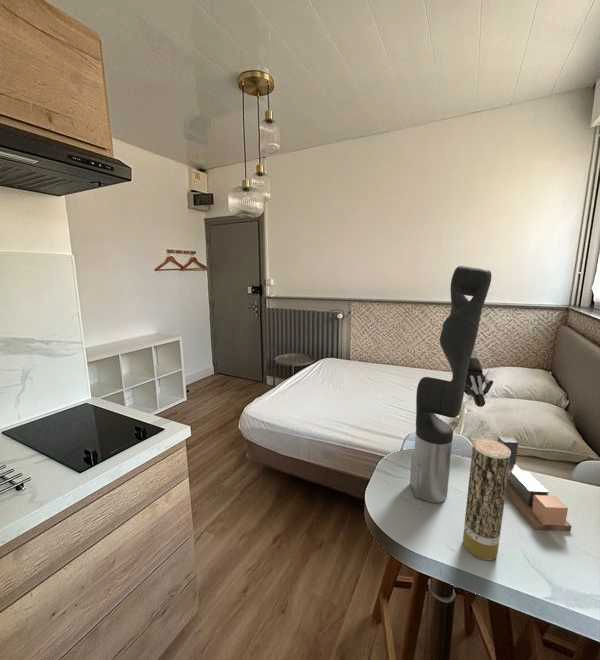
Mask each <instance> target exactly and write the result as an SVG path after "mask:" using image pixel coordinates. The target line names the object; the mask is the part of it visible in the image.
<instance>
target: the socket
mask: <svg viewBox="0 0 600 660" xmlns="http://www.w3.org/2000/svg"><path fill="white" fill-rule="evenodd" d="M568 511H569V507H567V505H566V504H565V503H564V502H562V501H561V499H559V498H558V496H556V495H548V496H544V495H534V501H533V508H532V513H533V514H534V515H535V516H536V517H537V518H538V519H539V521H540V522H541V523H542V524H543V525H562V526H565V523H566V521H567V515H568Z"/></svg>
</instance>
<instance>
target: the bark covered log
mask: <svg viewBox="0 0 600 660" xmlns="http://www.w3.org/2000/svg"><path fill="white" fill-rule="evenodd" d="M510 456H511V451H510V449H509V448H508V447H507V446H506V445H504V444H502V443H500V442H498V440H495V439H490V438H477V439H475V440H473V444H472V449H471V457H470V458H471V460H470V469H469V477H468V480H469V481H468V486H467V487H468V490H467V496H466V506H465V517H464V527H463V535H462V536H463V537H462V541H463V542H462V543H463V545H464V547H465V548H466V550H467V551H468V552H469V553H470V554H471V555H473V556H474V557H476V558H479V559H481V560H483V561H490V560H494V559H496V557H497V556H498V552H499V546H500V539H501V538H500V537H501V530H502V523H503V515H504V509H505V502H506V487H507V479H508V471H509V464H510Z"/></svg>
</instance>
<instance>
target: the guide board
mask: <svg viewBox="0 0 600 660" xmlns="http://www.w3.org/2000/svg"><path fill="white" fill-rule="evenodd" d="M509 481H510V480H509V479H507V487H506V494H505V496H507V498H509V500H510V501H511V502H512V503H513V505H514V506H515V507H516V509H518V510H519V512H520V513H521V514H522V516H524V518H525V519H526V520H527V521H528V522H529V524H530V525H531V526H532V527H533V529H534V530H535V531H552V532H553V531H554V532H555V531H556V532H557V531H558V532H571V530H572V527H573V525H571V524H570V523H569V521H567V520H566V523H565V526H562V525H543V524H542V523H541V522H540V521H539V519H538V518H537V517H536V516H535V515H534V514H533V513H532V508H533V506H527V505H526V504H525V503H524V502H523V500H522V499H521V498H520V497H519V496H518V495H517V494H516V493H515V491H514V490H513V489H512V488H511V487H510V486H509Z"/></svg>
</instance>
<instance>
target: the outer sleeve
mask: <svg viewBox="0 0 600 660" xmlns="http://www.w3.org/2000/svg"><path fill="white" fill-rule="evenodd" d="M509 486H510V487H511V488H512V489H513V490H514V491H515V493H516V494H517V495H518V496H519V497H520V498H521V499H522V500H523V502H524V503H525V504H526V505H527V506H533V505H532V504H531V503H530V499H531V493H544V494H545V495H546V496H549V490H548V489H547V488H546V487H544V486H543V485H542V483H540V481H538V480H537V479H536V478H535V477H534V476H533V475H532V474H531V473H530V472H529V471H522V472H519V471H511V474H510V481H509Z"/></svg>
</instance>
